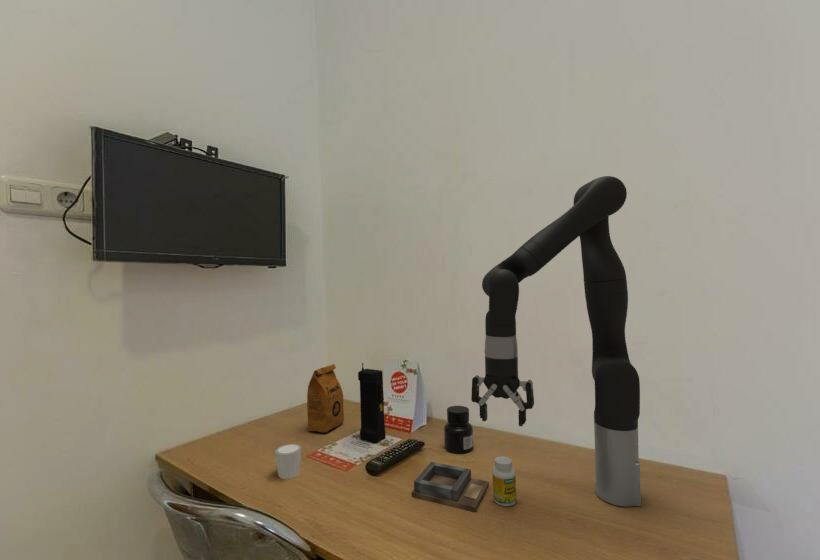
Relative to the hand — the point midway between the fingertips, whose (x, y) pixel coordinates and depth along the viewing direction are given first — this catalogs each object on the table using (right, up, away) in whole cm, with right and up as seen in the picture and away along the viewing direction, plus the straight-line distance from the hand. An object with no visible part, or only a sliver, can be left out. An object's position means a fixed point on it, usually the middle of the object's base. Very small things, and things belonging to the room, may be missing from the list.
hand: (502, 422), depth 93 cm
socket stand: (-12, -19, +5) cm, 23 cm away
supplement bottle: (+1, -19, 0) cm, 19 cm away
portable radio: (-34, -19, +38) cm, 54 cm away
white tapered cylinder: (-55, -20, +16) cm, 61 cm away
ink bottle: (-7, -19, +29) cm, 35 cm away
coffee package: (-52, -20, +48) cm, 74 cm away
